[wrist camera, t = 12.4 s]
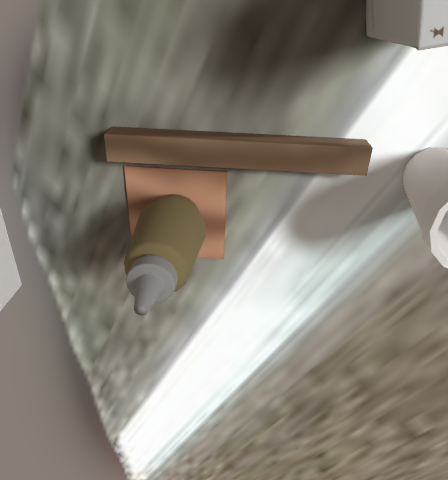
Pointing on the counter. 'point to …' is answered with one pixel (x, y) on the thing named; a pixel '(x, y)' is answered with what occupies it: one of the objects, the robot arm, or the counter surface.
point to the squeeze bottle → (163, 250)
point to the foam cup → (430, 197)
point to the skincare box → (408, 22)
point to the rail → (223, 156)
